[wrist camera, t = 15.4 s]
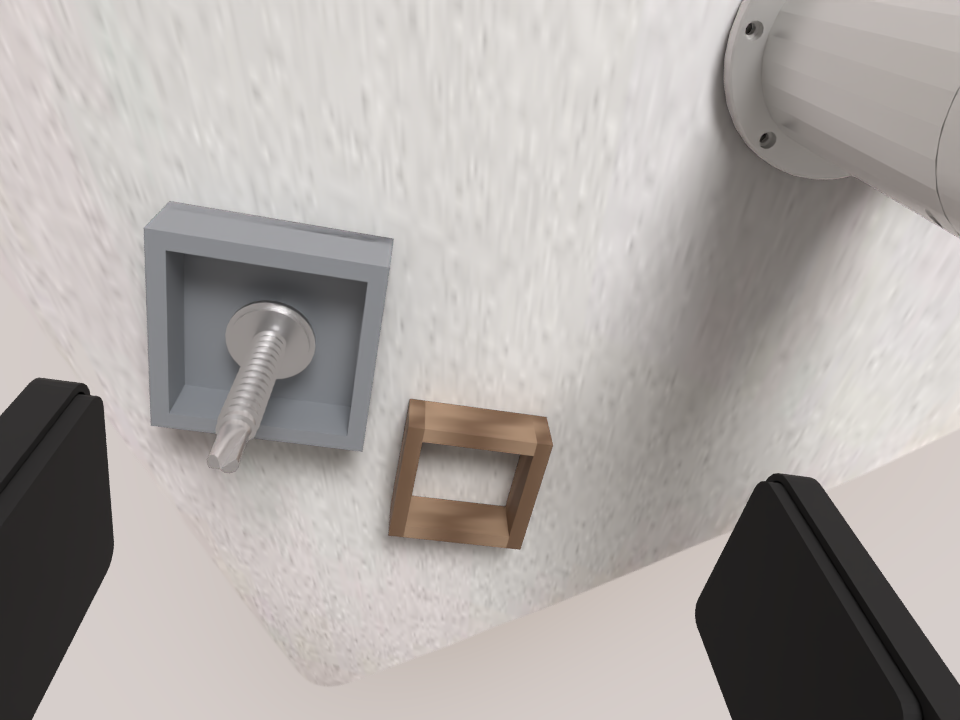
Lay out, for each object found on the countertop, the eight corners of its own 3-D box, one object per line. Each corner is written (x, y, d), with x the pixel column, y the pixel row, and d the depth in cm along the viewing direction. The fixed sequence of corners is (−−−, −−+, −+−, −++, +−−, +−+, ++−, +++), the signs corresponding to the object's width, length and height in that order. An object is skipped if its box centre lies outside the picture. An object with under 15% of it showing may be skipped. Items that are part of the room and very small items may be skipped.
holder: (546, 417, 47) (553, 445, 44) (516, 518, 51) (520, 549, 49) (410, 398, 46) (408, 426, 43) (390, 504, 50) (388, 535, 48)
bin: (393, 238, 40) (389, 267, 37) (367, 412, 46) (362, 451, 43) (169, 201, 38) (143, 228, 35) (172, 387, 44) (150, 425, 41)
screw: (218, 303, 40) (295, 273, 40) (261, 370, 43) (334, 344, 42) (136, 445, 29) (241, 407, 29) (200, 525, 32) (299, 492, 31)
